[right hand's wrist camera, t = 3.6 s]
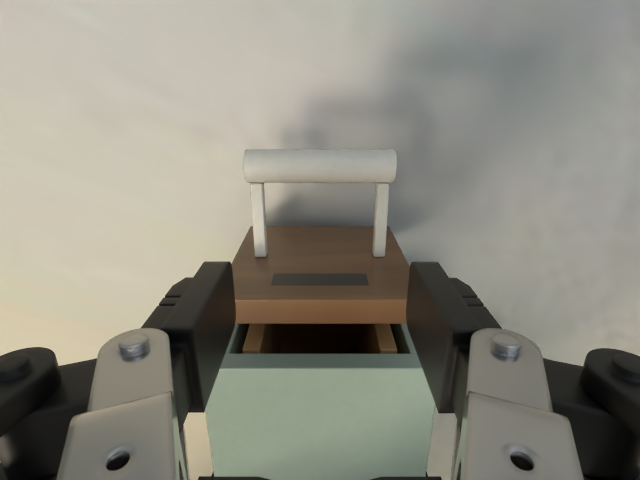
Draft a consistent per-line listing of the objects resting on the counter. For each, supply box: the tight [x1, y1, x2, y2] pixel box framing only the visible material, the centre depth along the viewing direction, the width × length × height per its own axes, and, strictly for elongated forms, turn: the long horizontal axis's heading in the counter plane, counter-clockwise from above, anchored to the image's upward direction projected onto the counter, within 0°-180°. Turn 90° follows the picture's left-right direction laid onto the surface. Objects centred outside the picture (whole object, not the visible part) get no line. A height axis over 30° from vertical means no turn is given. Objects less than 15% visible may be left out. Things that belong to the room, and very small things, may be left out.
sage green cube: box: [205, 324, 435, 480], centre depth 24 cm, size 13×10×11 cm
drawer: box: [231, 149, 410, 354], centre depth 22 cm, size 17×9×9 cm, turn 0°
